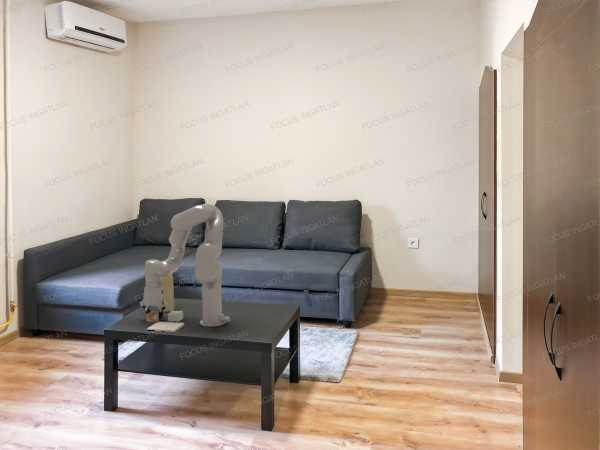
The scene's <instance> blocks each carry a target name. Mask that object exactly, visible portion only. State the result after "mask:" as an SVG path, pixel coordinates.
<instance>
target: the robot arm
mask: <svg viewBox="0 0 600 450" xmlns="http://www.w3.org/2000/svg"><path fill="white" fill-rule="evenodd" d="M205 222H206V227H205V232H204V241H203V242H202V243H201V244H199V245H198V247H197V248H196V249H197V250H196V253H195V265H194V266H195V267H194V276H195V279H196V280H197V282H198V283H200V284H201V300H202V301H201V302H202V303H201V305H202V306H201V308H202V319H201V320H200V321H199V325H200V326H202V327H210V328H211V327H212V328H213V327H219V326H222V325H225V323H226V322H230V320H231V318H230V317H229V316H226V315H224V313H223V312H222V310H223V309H222V306H223V305H222V304H223V303H222V280H223V279H222V277H223V268H222V266H221V264H220V262H218V261H216V259H217V258H219V257H220V256H221V254H222V250H223V249H222V248H223V236H224V235H223V233H224V217H223V212H221V210H220V209H219V208H218V207H217V206H215V205H214V204H211V203H203V204H202V203H201V204H198V205H196V206H193V207H191V208H188V209H187V210H184V211H181V212H179V213H177V214H175V215H174V216H172V218H171V219H170V226H171V229H172V231H171V233H170V235H169V238H168V242H169V244H170V245H171V246H170V247H171V248H170V252H169V255H168V256H167V258H166V259H164V260H161V261H160V260H159V259H147V260H146V261H145V262H144V270H145V286H144V290H143V299H142V300H141V301H140V302H139V305H140V306H141V307H142V308H143V310H144V312H145V315H146V314H148V313H149V312H151V310H150V308H151V307H156V308H158V310H159V311H158V312H159V320H161V319H162V318H163V319H164V312H163V311H164V309H165V308H166V307H167V306H168V305H169V304H168V303H167V302H166V301H165V294H164V289H163V286H161V285H163V282H161V276H167V275H169V274H171V273H173V274H174V273H176V272H177V271H178V270H179V268H180V266H181V264H182V261H183V259H184V256H185V253H186V251H185V250H186V244H187V241H188V240H189V237H190V234H191V232H192V229H193V227H196V226H197V225H200V224H202V223H205ZM164 304H165V306H164V307H163V305H164ZM161 321H162V320H161Z"/></svg>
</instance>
